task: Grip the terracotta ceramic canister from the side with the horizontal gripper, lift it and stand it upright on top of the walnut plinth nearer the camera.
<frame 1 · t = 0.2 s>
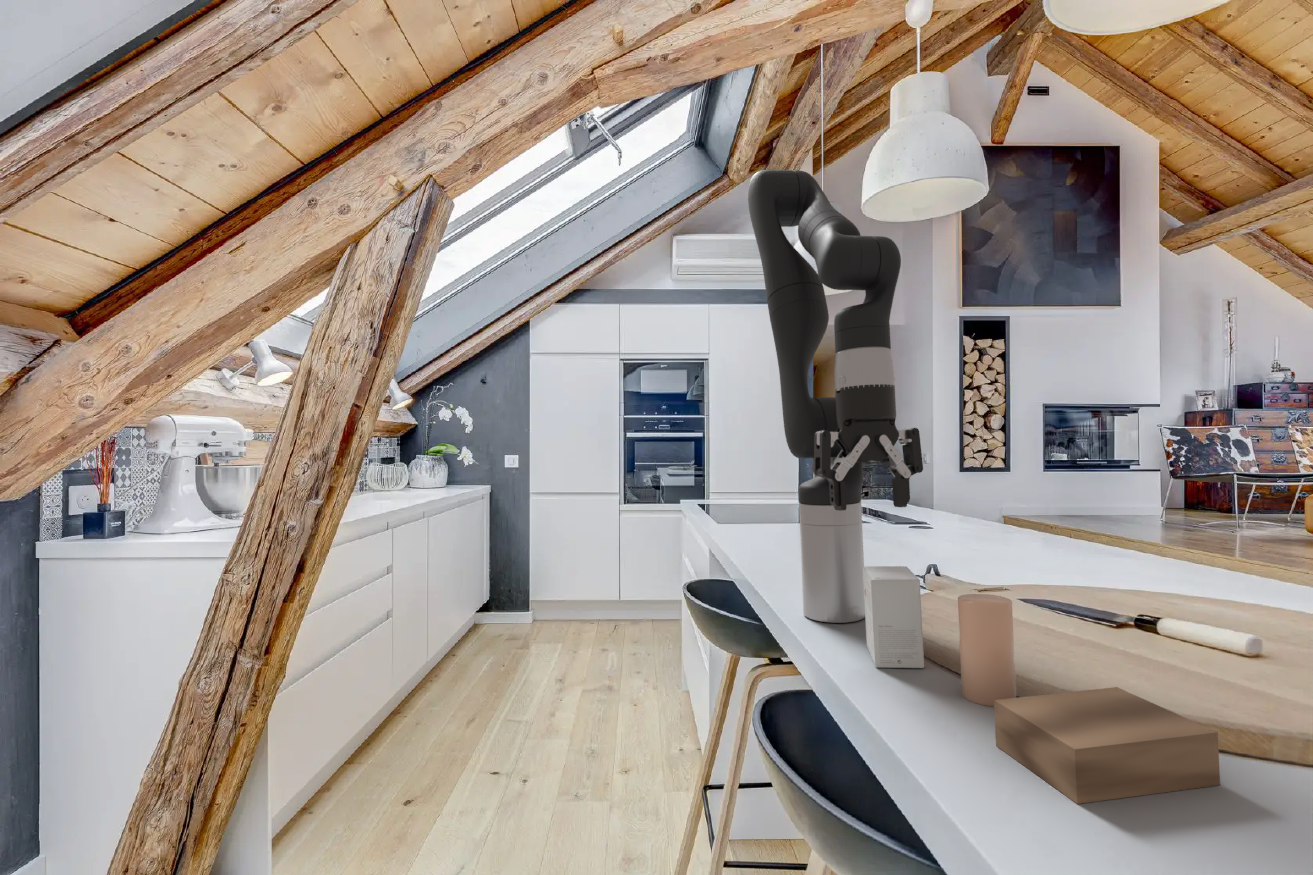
hand: (870, 508, 84), 18 cm above the countertop, tool pointing down, fingers open, 8 cm apart
terracotta canister: (988, 696, 66), on the countertop
small box: (893, 659, 78), on the countertop
walnut plinth: (1100, 763, 52), on the countertop
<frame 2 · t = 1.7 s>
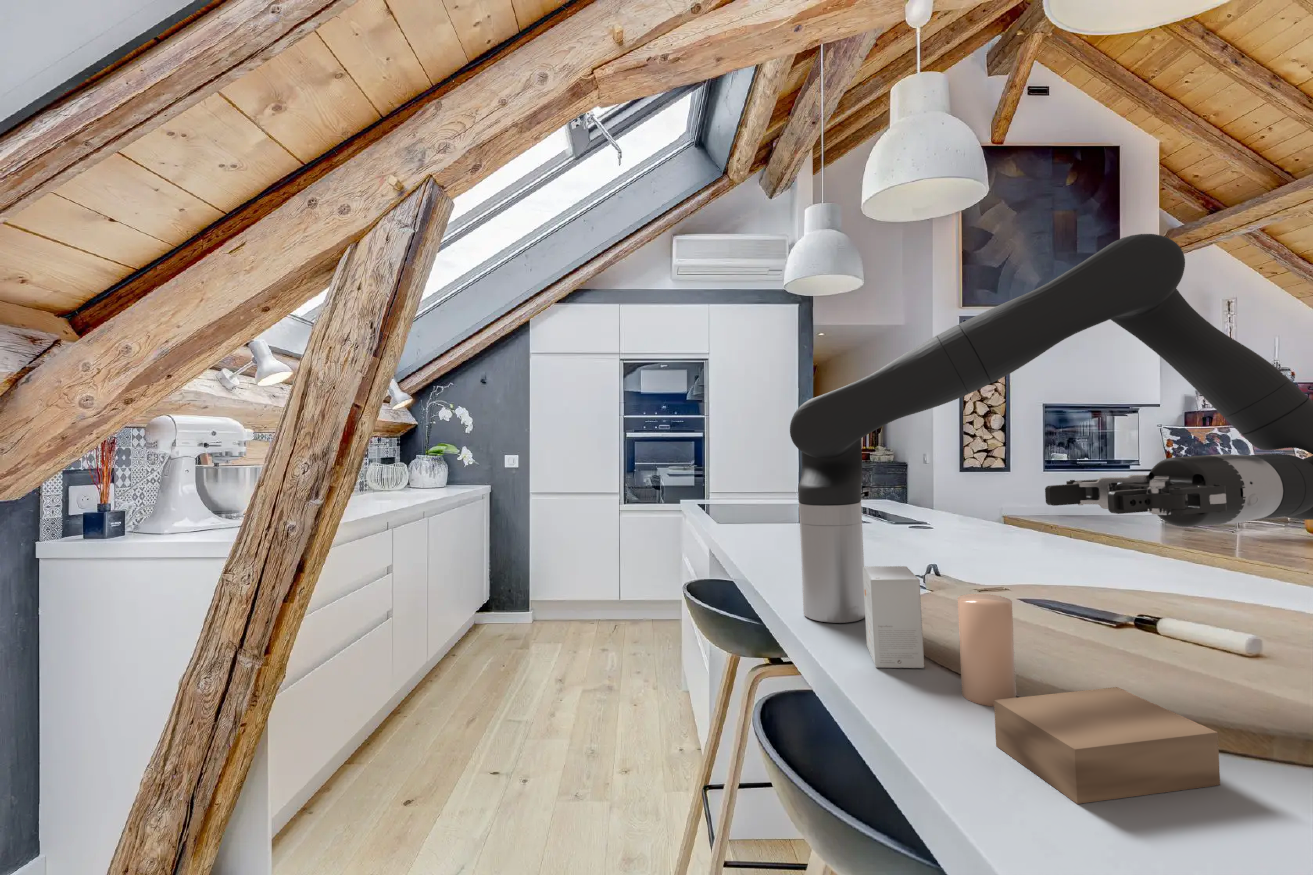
hand: (1077, 499, 67), 20 cm above the countertop, tool horizontal, fingers open, 8 cm apart
nothing on the countertop moved.
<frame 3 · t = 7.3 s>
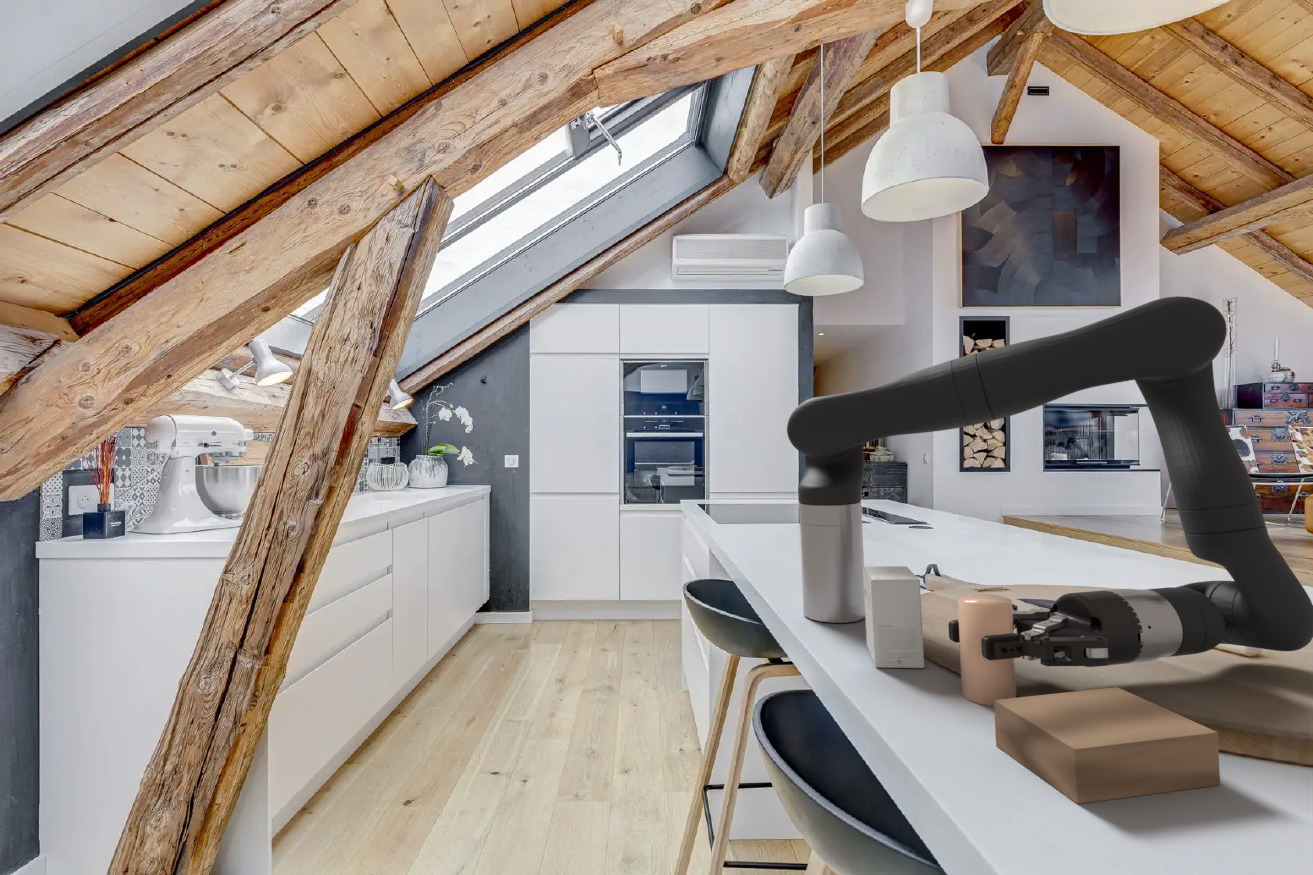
hand: (967, 639, 65), 6 cm above the countertop, tool horizontal, fingers closed on terracotta canister, 5 cm apart
terracotta canister: (988, 696, 66), on the countertop, touching gripper
everything else where it was.
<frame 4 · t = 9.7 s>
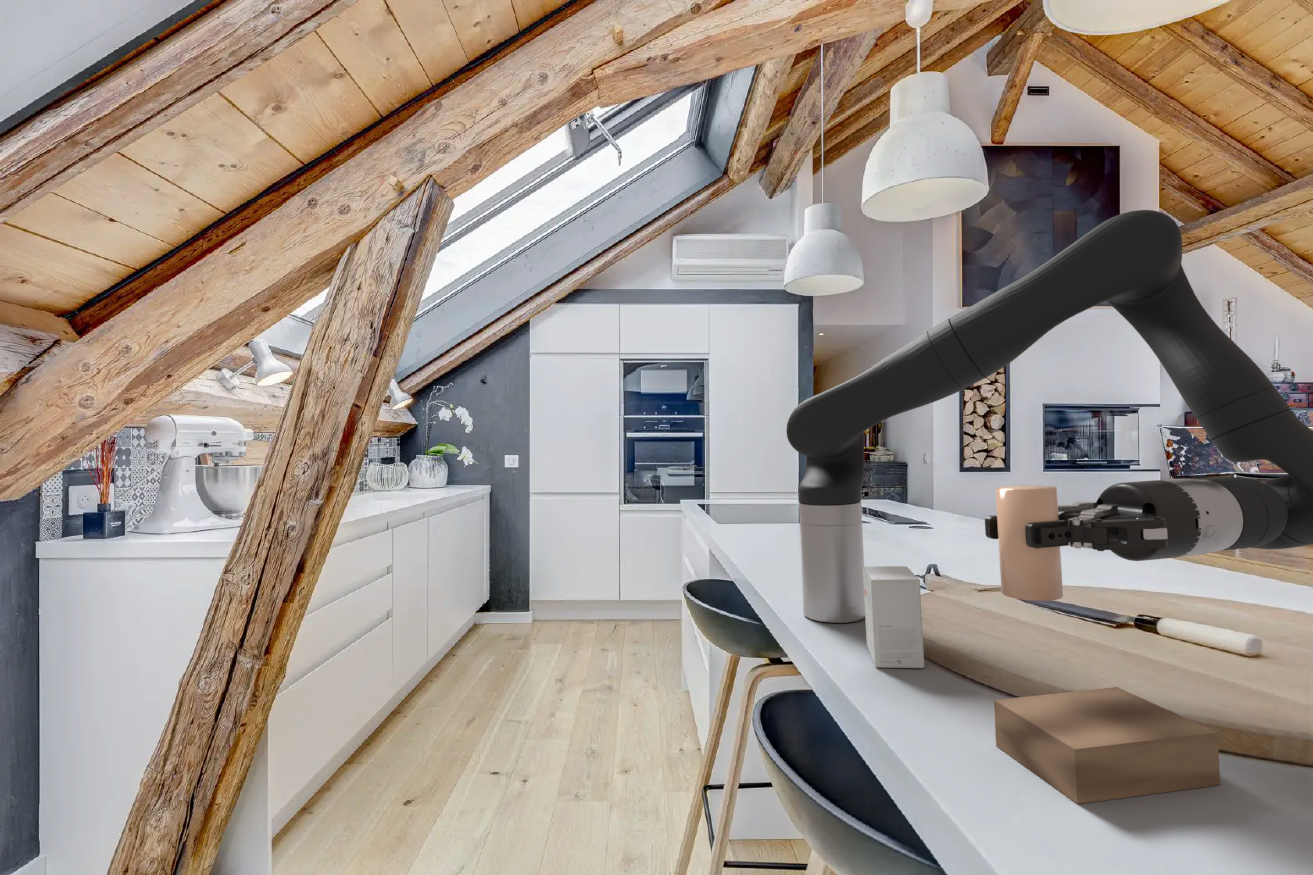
hand: (1007, 531, 59), 18 cm above the countertop, tool horizontal, fingers closed on terracotta canister, 5 cm apart
terracotta canister: (1031, 593, 60), point 12 cm above the countertop, touching gripper
everything else where it was.
when the fingers open (11 cm above the countertop, at t = 11.9 s): terracotta canister drops 1 cm, resting on walnut plinth.
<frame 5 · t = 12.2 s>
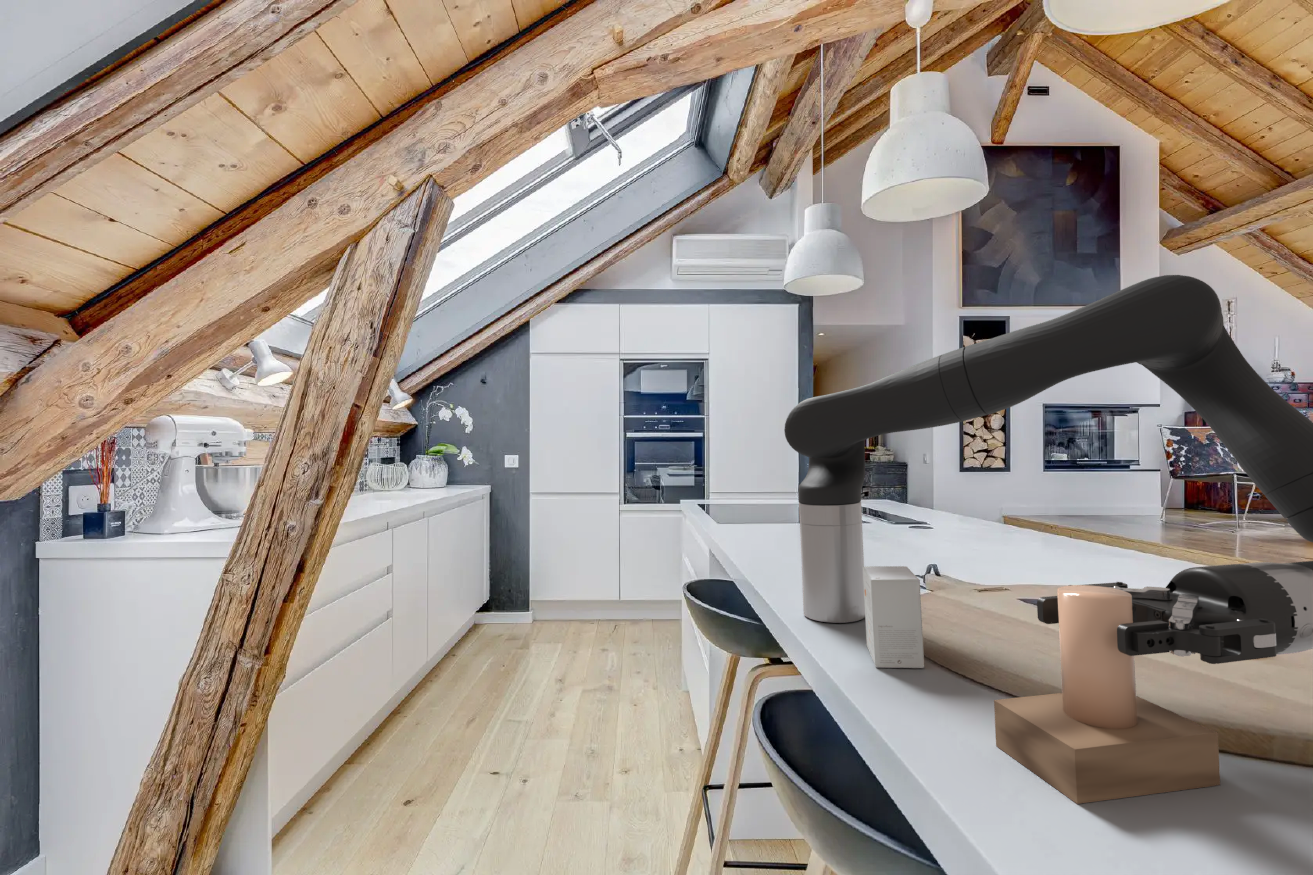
hand: (1077, 624, 52), 12 cm above the countertop, tool horizontal, fingers open, 8 cm apart
terracotta canister: (1099, 714, 52), point 4 cm above the countertop, touching walnut plinth
everything else where it was.
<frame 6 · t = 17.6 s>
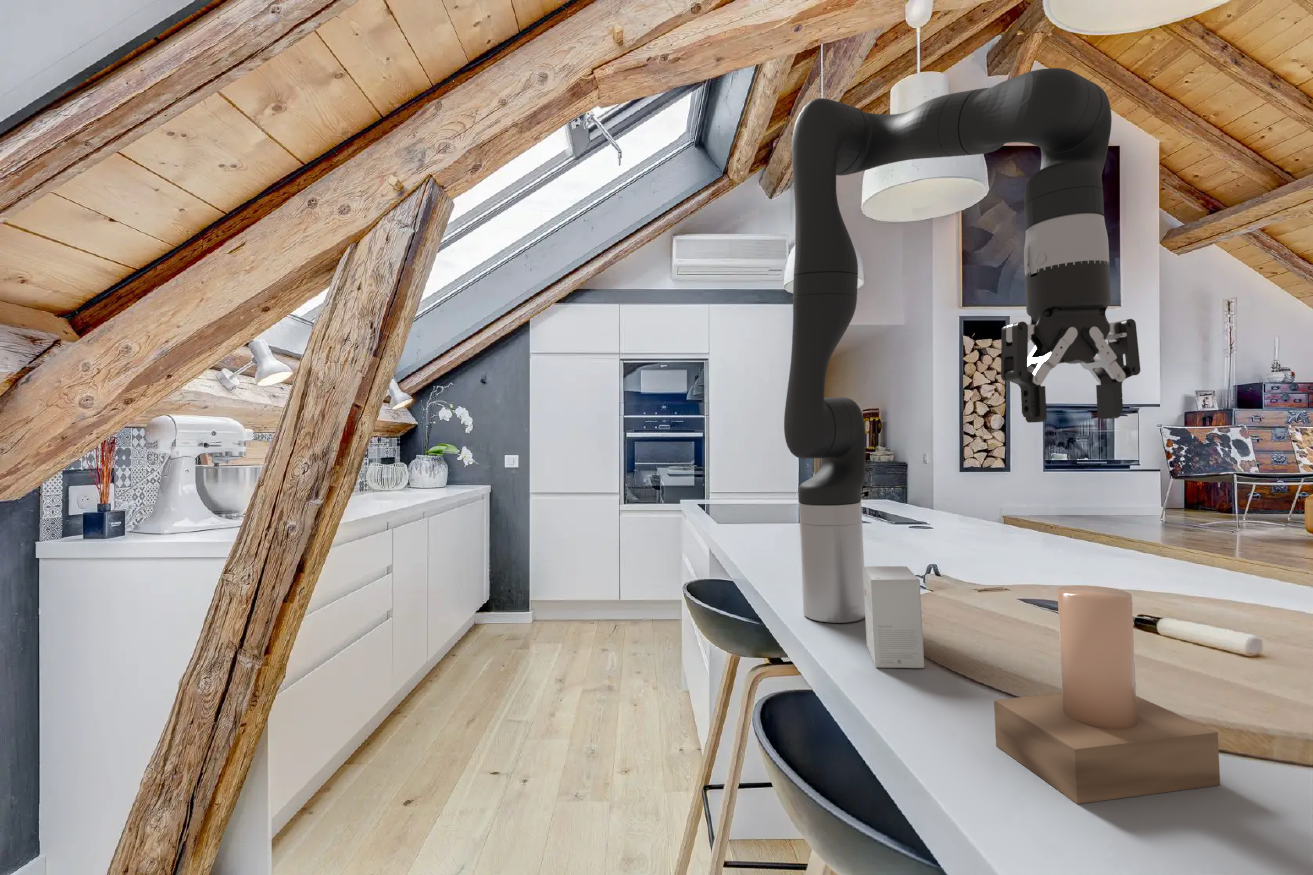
hand: (1072, 420, 67), 28 cm above the countertop, tool pointing down, fingers open, 8 cm apart
nothing on the countertop moved.
at the end: terracotta canister inside the target area on the walnut plinth (0.1 cm from its centre), point 4.0 cm above the walnut plinth's base; terracotta canister tilted 0°; the gripper is holding nothing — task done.
